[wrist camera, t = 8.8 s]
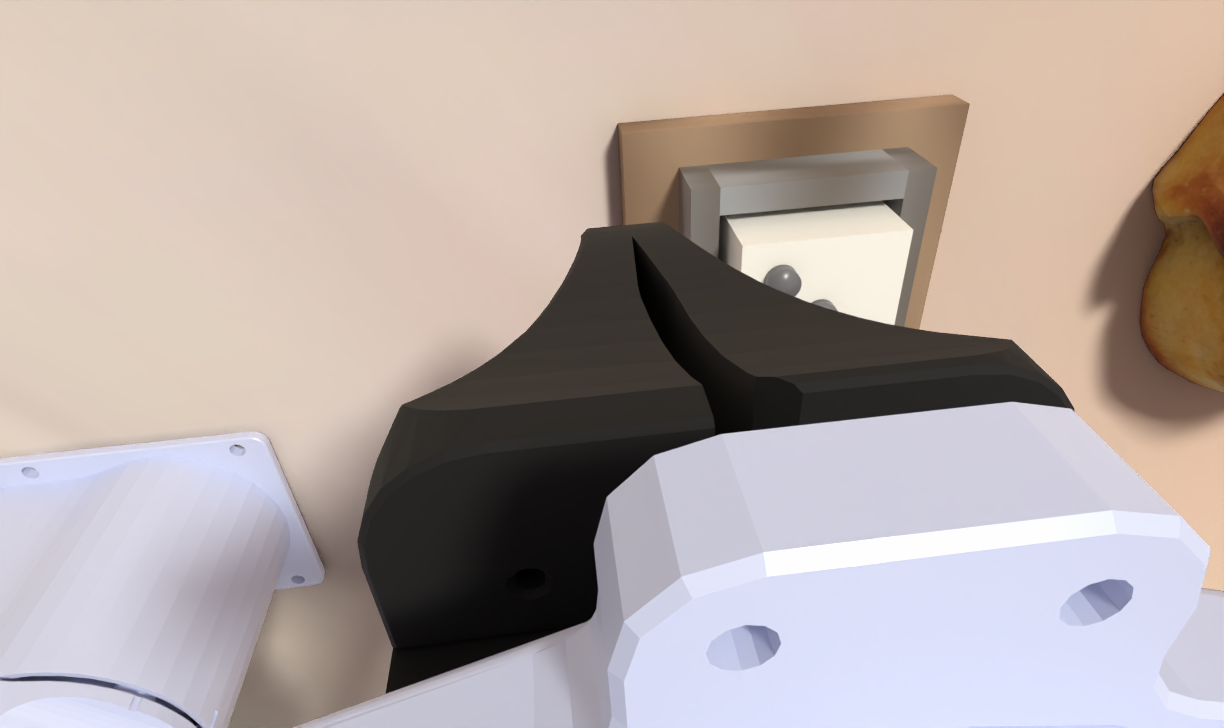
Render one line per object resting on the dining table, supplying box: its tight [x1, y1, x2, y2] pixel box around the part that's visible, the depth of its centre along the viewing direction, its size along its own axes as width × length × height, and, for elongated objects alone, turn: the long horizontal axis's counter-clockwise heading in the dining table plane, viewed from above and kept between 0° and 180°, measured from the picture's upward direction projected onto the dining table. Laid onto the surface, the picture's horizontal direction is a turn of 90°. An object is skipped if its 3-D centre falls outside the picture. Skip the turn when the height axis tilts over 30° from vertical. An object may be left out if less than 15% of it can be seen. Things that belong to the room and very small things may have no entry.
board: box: [618, 95, 969, 329], centre depth 26 cm, size 10×21×3 cm, turn 3°
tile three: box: [718, 201, 913, 325], centre depth 21 cm, size 5×5×3 cm
